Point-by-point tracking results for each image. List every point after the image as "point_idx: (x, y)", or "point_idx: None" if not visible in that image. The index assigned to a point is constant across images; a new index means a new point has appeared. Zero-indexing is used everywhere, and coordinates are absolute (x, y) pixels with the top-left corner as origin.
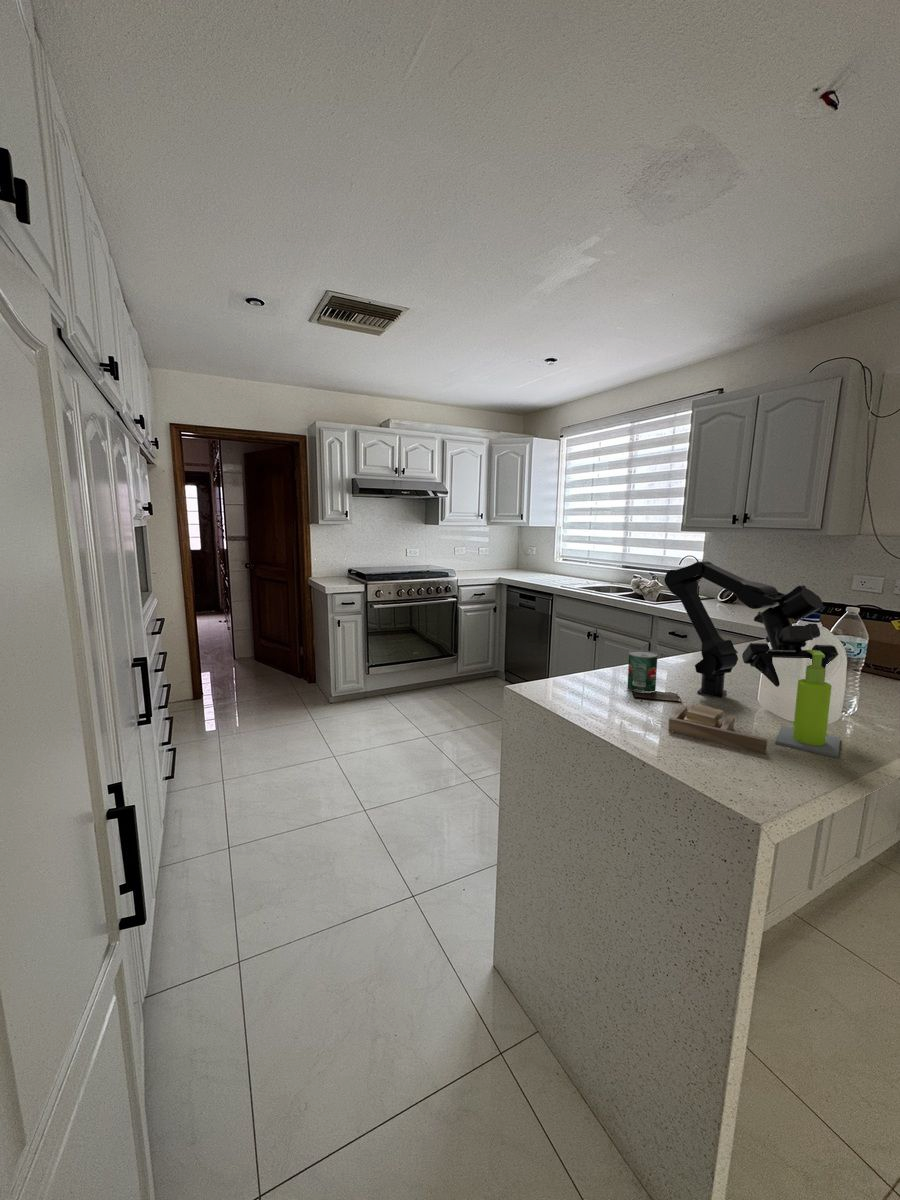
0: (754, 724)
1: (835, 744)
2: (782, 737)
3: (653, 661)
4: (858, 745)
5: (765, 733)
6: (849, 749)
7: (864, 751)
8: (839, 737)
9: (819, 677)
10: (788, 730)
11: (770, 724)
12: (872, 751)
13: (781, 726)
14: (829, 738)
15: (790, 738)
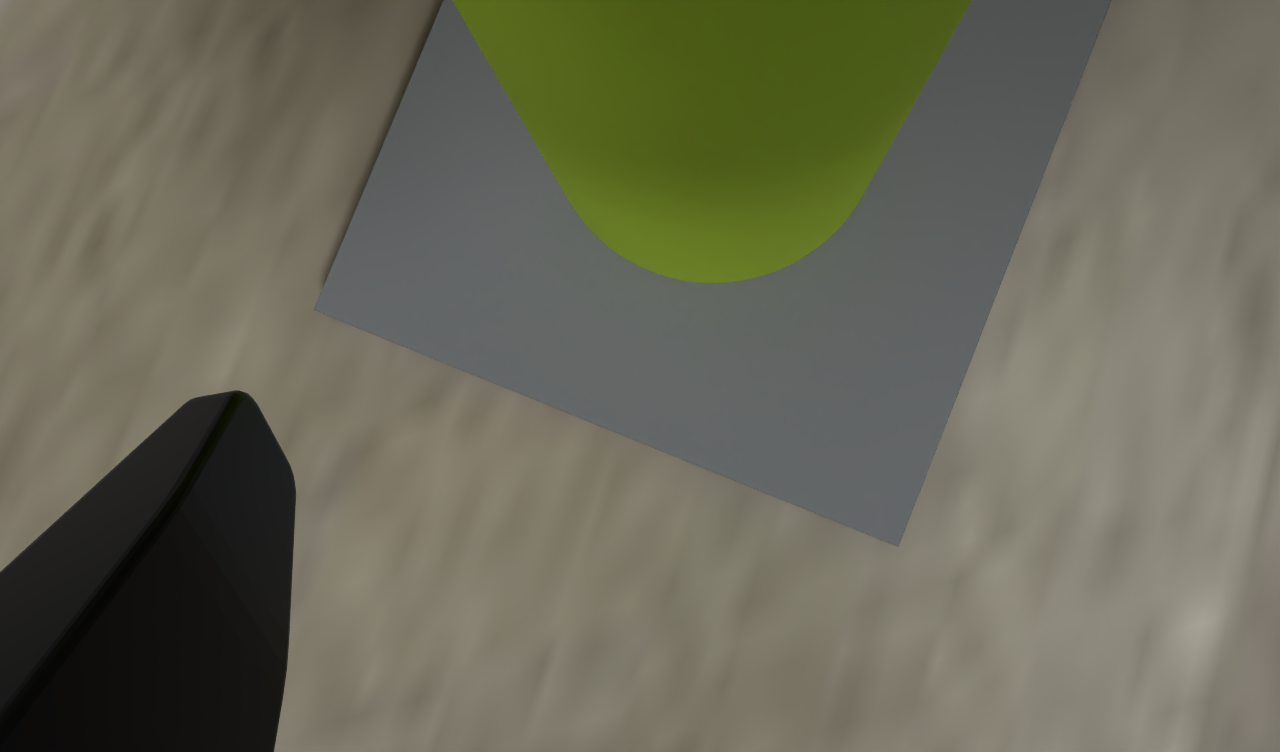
0: (1219, 576)
1: (456, 66)
2: (1011, 96)
3: None
4: (190, 212)
5: (1150, 277)
6: (336, 60)
7: (203, 52)
8: (322, 309)
9: None
10: (863, 372)
11: (1001, 638)
12: (121, 79)
13: (912, 501)
14: (453, 236)
15: (920, 96)
